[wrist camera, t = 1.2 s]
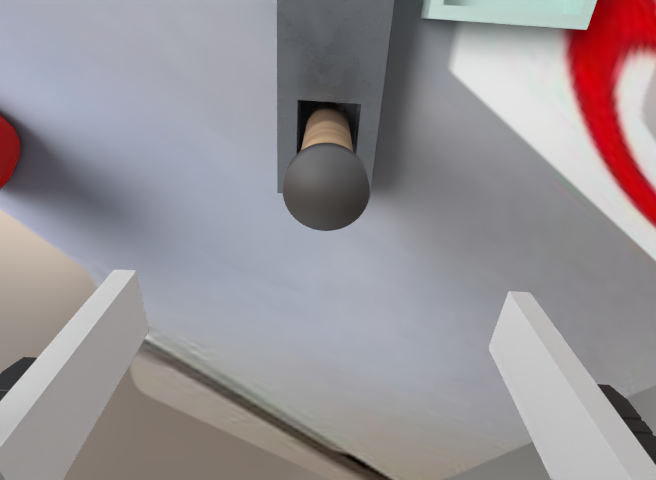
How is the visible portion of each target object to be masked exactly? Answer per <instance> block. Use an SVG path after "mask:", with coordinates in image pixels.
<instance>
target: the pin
mask: <svg viewBox="0 0 656 480" xmlns="http://www.w3.org/2000/svg"><path fill="white" fill-rule="evenodd" d="M369 195H370V186H369V181H368V177H367V172H366V169H365V166H364V164H363V163H362V161H361V160H360V158H359V157H358V156H357V155H356V154H355V153H354V152H353V147H352V141H351V135H350V129H349V123H348V118H347V115H346V113H345V111H344V110H343V109H342V108H341V107H340V106H339V105H337V104H335V103H332V102H324V103H321V104H318V105H317V106H315V107H314V108H313V109H312V111H311V112H310V114H309V117H308V121H307V125H306V130H305V135H304V139H303V144H302V148H301V151H300V152H299V153H298V154H297V155H296V156H295V157H294V158H293V159H292V161H291V162H290V164H289V166H288V169H287V172H286V175H285V179H284V183H283V197H284V201H285V204H286V206H287V208H288V210H289V212H290V213H291V214H292V215H293V217H294V218H295V219H296V220H298V221H299V222H300V223H302V224H303V225H305V226H307V227H310V228H312V229H316V230H323V231H331V230H337V229H341V228H343V227H346V226H348V225H350V224H351V223H353V222H354V221H355V220H356V219H358V218H359V216H360V215H361V214H362V213H363V211H364V210H365V208H366V206H367V203H368V200H369Z"/></svg>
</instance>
